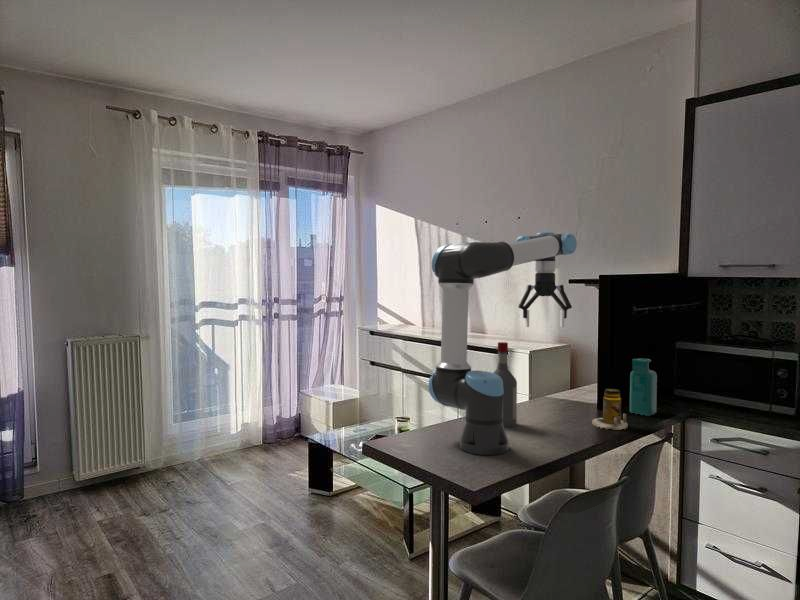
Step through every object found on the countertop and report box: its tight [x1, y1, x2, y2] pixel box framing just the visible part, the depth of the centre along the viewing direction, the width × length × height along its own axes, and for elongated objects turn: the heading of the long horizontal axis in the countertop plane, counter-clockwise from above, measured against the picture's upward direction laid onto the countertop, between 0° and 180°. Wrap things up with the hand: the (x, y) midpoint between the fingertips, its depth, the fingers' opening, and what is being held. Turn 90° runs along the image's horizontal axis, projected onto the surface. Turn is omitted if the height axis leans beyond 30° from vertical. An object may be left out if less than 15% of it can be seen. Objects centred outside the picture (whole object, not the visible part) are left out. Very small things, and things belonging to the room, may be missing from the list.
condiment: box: [595, 388, 623, 426], centre depth 191 cm, size 7×8×12 cm
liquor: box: [493, 341, 518, 428], centre depth 193 cm, size 9×9×30 cm
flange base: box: [591, 413, 629, 431], centre depth 192 cm, size 12×12×4 cm
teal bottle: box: [629, 358, 658, 417], centre depth 210 cm, size 10×8×22 cm
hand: (544, 326), depth 206 cm, fingers open, 13 cm apart
